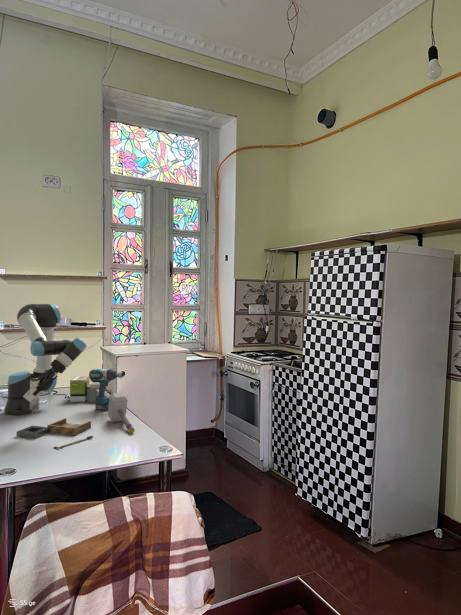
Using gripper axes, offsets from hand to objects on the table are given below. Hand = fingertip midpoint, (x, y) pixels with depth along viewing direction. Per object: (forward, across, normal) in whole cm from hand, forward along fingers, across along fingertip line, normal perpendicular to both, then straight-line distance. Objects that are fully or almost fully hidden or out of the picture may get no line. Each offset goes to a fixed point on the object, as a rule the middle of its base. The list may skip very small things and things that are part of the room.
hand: (26, 399), depth 215 cm
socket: (+10, 0, -15) cm, 18 cm away
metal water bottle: (+1, 0, -6) cm, 6 cm away
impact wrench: (-25, +28, -51) cm, 63 cm away
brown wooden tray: (-2, -3, -27) cm, 27 cm away
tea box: (-22, +62, -49) cm, 82 cm away
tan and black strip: (+2, -26, -24) cm, 36 cm away
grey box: (-27, +52, -53) cm, 79 cm away
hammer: (-19, -12, -45) cm, 51 cm away
